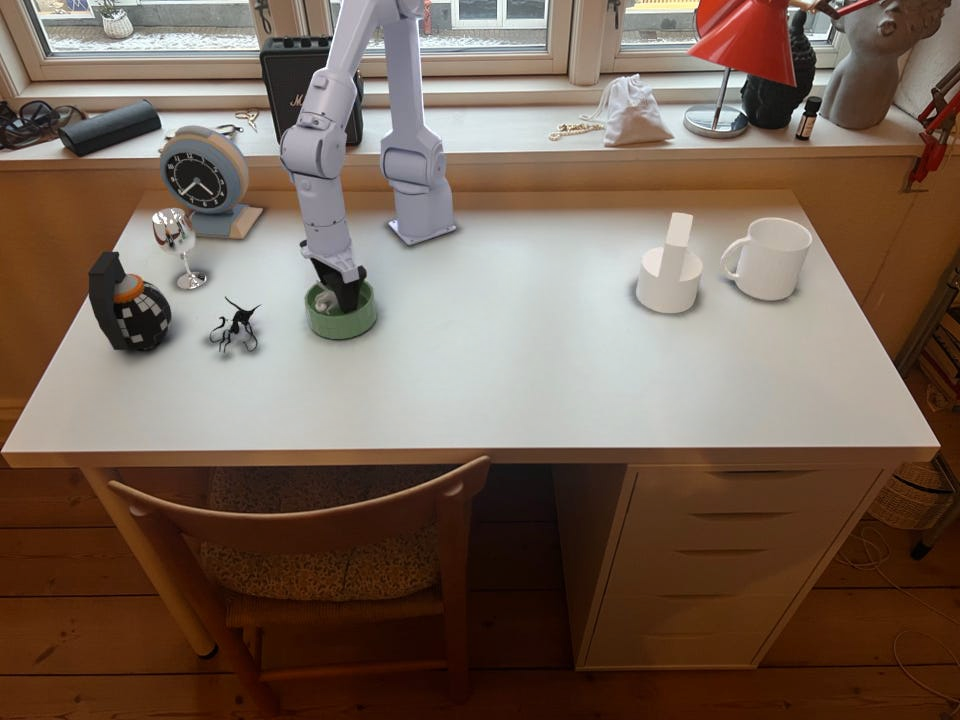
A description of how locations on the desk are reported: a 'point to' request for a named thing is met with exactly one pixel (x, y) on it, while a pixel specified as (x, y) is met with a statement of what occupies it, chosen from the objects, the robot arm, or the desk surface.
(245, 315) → the creature
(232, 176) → the alarm clock
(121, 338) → the grenade
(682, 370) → the desk surface
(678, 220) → the cylinder with rectangular tab
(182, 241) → the wineglass
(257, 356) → the desk surface
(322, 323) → the bowl
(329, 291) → the dog figurine
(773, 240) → the mug
